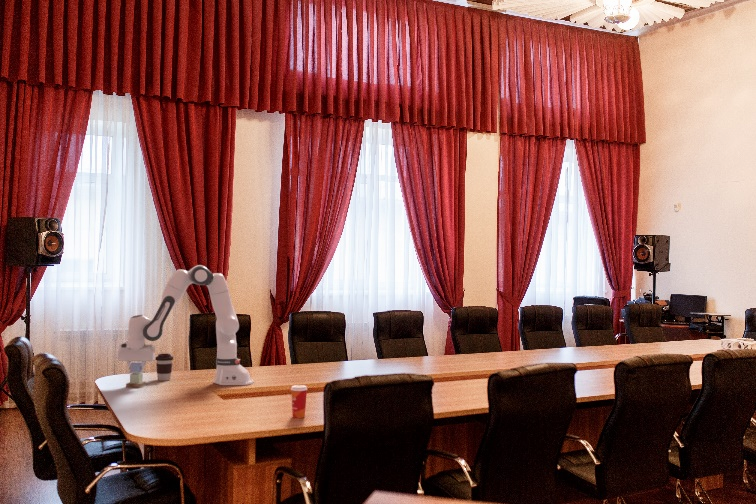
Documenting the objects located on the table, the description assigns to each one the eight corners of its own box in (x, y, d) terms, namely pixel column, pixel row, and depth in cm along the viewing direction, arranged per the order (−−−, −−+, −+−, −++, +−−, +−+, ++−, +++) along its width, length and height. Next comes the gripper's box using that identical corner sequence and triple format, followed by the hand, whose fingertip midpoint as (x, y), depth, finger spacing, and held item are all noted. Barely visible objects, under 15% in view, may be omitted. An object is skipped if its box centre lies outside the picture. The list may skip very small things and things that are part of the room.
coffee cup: (167, 381, 400) (168, 355, 400) (151, 380, 402) (152, 355, 402) (175, 378, 410) (176, 353, 410) (160, 378, 412) (160, 352, 412)
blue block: (142, 371, 388) (142, 362, 388) (138, 372, 383) (139, 363, 383) (133, 371, 388) (134, 362, 388) (130, 372, 383) (130, 363, 383)
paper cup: (290, 414, 323) (291, 384, 323) (307, 414, 324) (307, 384, 324) (289, 418, 315) (290, 388, 315) (306, 418, 316) (307, 388, 316)
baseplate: (145, 385, 389) (145, 381, 389) (140, 387, 381) (140, 384, 381) (132, 384, 390) (132, 381, 390) (125, 387, 382) (126, 383, 382)
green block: (142, 381, 388) (142, 373, 388) (138, 383, 383) (138, 374, 383) (133, 381, 388) (133, 372, 388) (130, 383, 383) (130, 374, 383)
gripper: (157, 343, 388) (156, 368, 388) (121, 343, 389) (121, 367, 389) (152, 345, 382) (152, 370, 382) (116, 344, 383) (116, 369, 383)
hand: (136, 369), depth 386 cm, fingers closed on blue block, 5 cm apart
